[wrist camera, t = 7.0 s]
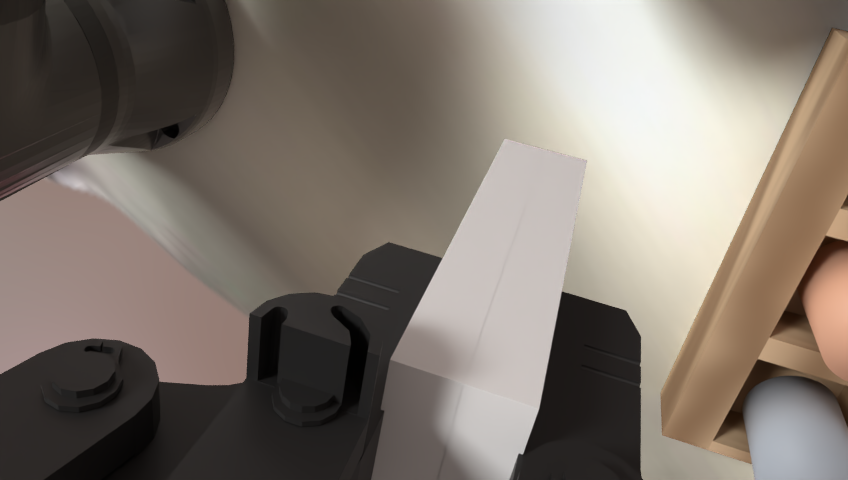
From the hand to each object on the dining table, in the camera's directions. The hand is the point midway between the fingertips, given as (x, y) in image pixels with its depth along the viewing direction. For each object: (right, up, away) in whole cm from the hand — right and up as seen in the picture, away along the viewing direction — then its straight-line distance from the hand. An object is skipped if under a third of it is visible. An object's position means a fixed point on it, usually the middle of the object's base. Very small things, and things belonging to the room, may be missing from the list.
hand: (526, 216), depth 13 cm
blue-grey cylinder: (+19, -10, +27) cm, 34 cm away
